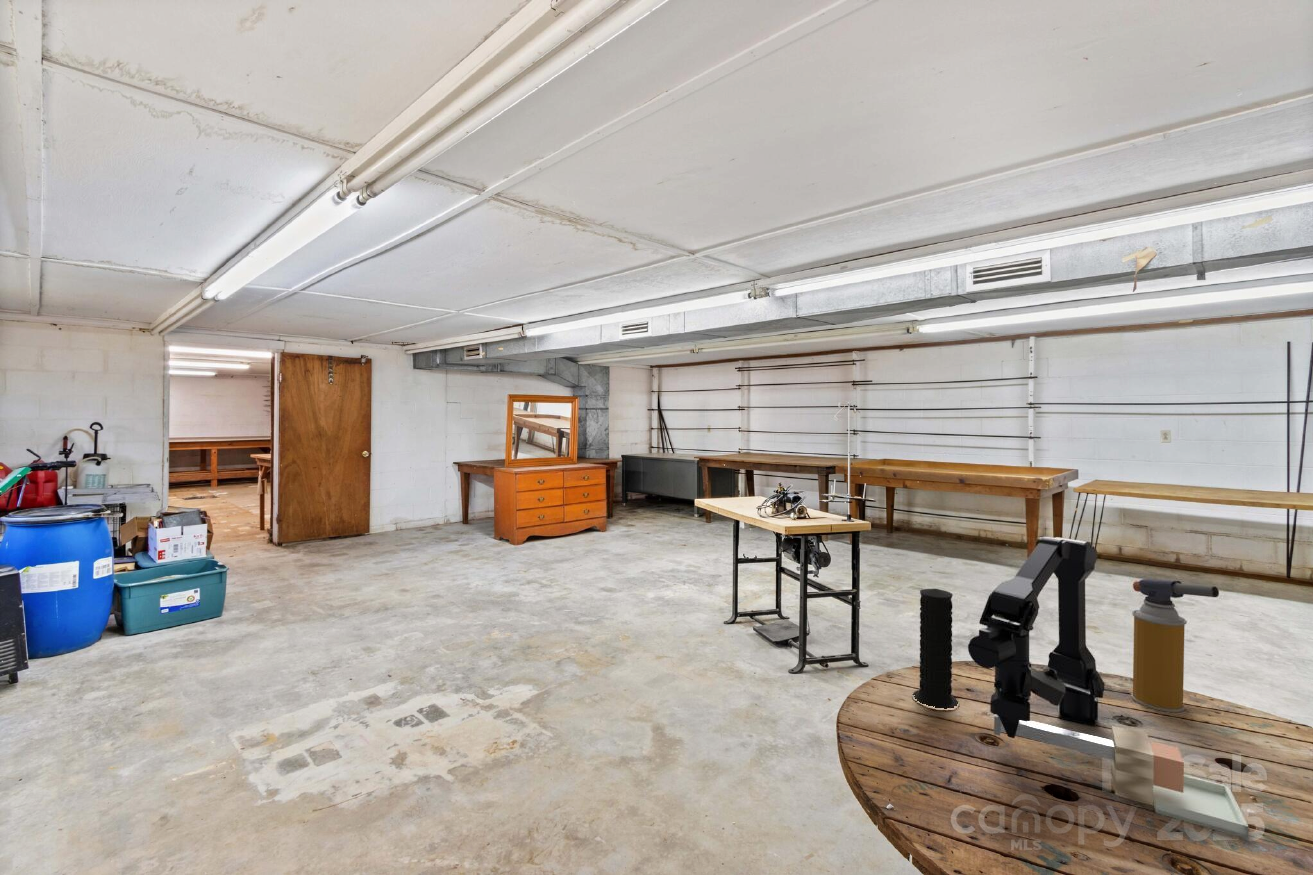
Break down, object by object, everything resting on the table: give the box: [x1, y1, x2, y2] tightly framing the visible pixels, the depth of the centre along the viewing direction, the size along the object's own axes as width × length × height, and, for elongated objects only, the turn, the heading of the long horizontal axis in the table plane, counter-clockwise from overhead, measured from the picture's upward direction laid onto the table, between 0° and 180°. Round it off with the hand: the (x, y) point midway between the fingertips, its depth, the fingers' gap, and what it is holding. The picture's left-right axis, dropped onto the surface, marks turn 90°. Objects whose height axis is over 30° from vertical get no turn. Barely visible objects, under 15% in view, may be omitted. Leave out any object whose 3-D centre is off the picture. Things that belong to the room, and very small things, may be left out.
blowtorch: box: [1130, 578, 1220, 713], centre depth 130 cm, size 9×16×30 cm, turn 15°
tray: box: [1153, 774, 1249, 840], centre depth 98 cm, size 11×12×2 cm
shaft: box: [993, 714, 1115, 761], centre depth 107 cm, size 26×4×4 cm, turn 56°
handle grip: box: [912, 588, 959, 709], centre depth 134 cm, size 10×26×10 cm
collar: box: [1149, 740, 1185, 793], centre depth 100 cm, size 4×5×5 cm
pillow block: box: [1110, 725, 1154, 807], centre depth 102 cm, size 5×8×9 cm, turn 146°
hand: (1011, 734), depth 112 cm, fingers closed on shaft, 2 cm apart
